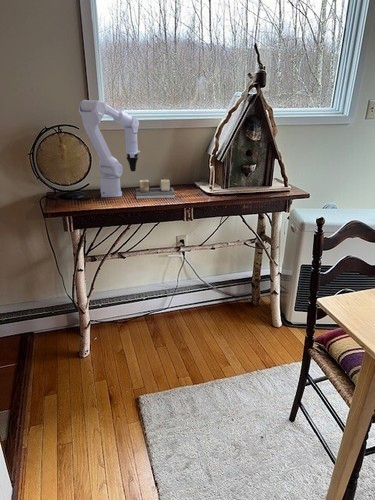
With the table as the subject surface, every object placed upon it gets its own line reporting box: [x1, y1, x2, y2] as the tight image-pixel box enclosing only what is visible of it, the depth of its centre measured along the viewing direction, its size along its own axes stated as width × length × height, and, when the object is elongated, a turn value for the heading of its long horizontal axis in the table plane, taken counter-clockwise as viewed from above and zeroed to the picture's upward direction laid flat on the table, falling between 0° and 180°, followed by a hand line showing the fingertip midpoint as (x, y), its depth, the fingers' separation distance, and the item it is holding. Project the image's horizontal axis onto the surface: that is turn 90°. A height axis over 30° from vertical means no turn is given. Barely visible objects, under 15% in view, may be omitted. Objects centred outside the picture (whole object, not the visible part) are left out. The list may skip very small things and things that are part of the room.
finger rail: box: [135, 179, 175, 200], centre depth 173 cm, size 18×9×7 cm, turn 98°
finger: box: [139, 179, 151, 192], centre depth 172 cm, size 4×4×6 cm
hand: (133, 169), depth 184 cm, fingers open, 7 cm apart
